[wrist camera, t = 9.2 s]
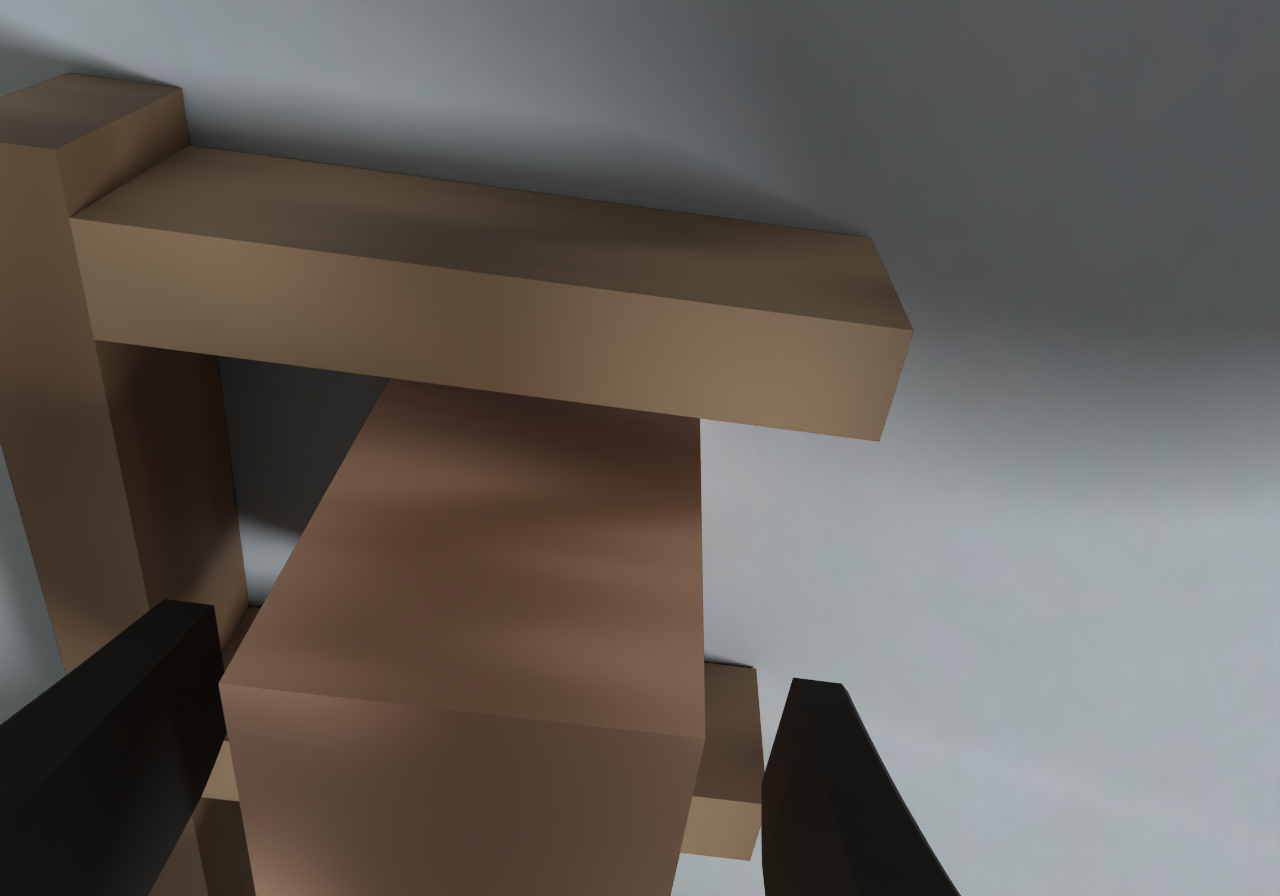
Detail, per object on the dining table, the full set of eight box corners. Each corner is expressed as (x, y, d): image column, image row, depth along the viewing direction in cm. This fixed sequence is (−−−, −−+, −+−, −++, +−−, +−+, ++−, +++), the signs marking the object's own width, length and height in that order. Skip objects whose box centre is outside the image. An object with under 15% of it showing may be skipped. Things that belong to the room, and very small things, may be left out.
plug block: (698, 379, 15) (704, 738, 9) (662, 597, 17) (647, 995, 11) (408, 343, 15) (218, 683, 9) (413, 569, 17) (266, 953, 11)
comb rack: (884, 185, 13) (932, 268, 10) (674, 975, 24) (672, 1111, 21) (67, 72, 13) (-88, 130, 10) (230, 925, 23) (174, 1057, 21)
